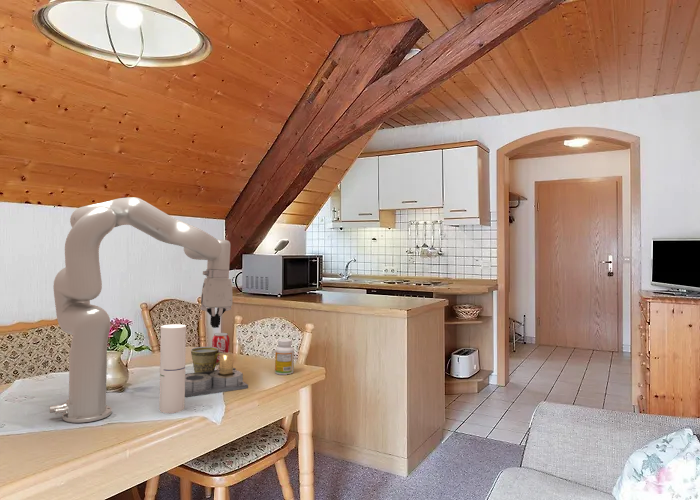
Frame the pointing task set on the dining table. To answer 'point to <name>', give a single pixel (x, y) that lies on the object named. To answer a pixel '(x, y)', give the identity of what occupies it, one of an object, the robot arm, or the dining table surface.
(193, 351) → the ceramic cup
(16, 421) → the dining table surface
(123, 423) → the dining table surface
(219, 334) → the soda can
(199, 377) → the jig
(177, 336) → the cylindrical container
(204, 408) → the dining table surface
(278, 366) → the supplement bottle
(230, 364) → the cylinder
